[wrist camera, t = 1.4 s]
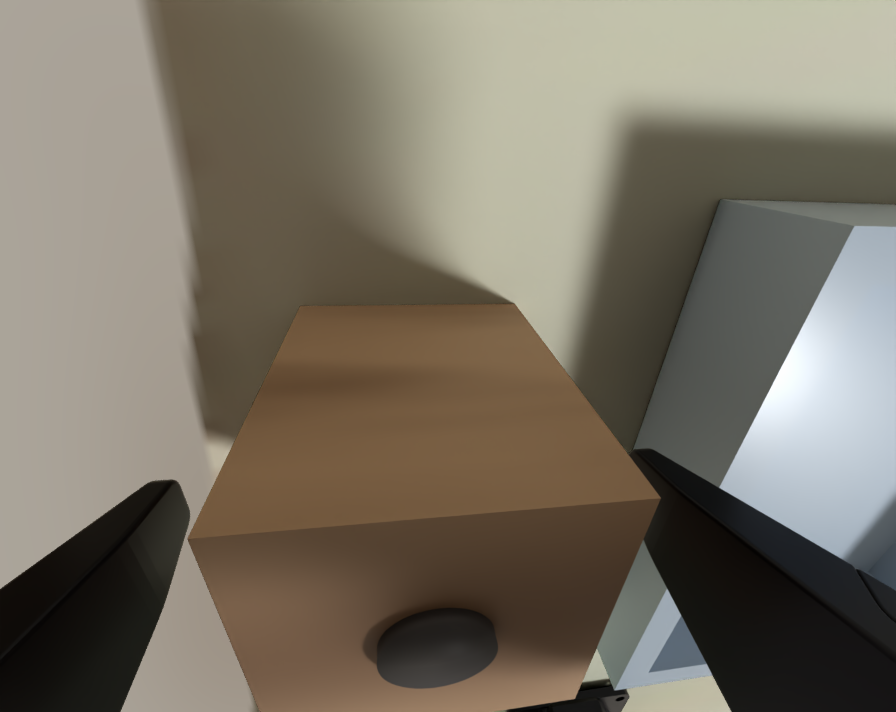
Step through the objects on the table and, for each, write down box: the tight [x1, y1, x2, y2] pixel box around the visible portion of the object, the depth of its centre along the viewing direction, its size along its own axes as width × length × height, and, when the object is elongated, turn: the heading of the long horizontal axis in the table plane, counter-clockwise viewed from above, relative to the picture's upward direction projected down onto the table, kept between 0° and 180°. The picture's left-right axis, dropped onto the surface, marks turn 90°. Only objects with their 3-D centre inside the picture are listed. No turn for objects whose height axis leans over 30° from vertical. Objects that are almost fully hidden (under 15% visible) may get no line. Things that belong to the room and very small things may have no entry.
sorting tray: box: [597, 199, 896, 690], centre depth 13 cm, size 16×14×3 cm
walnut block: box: [188, 304, 661, 712], centre depth 8 cm, size 5×5×6 cm
